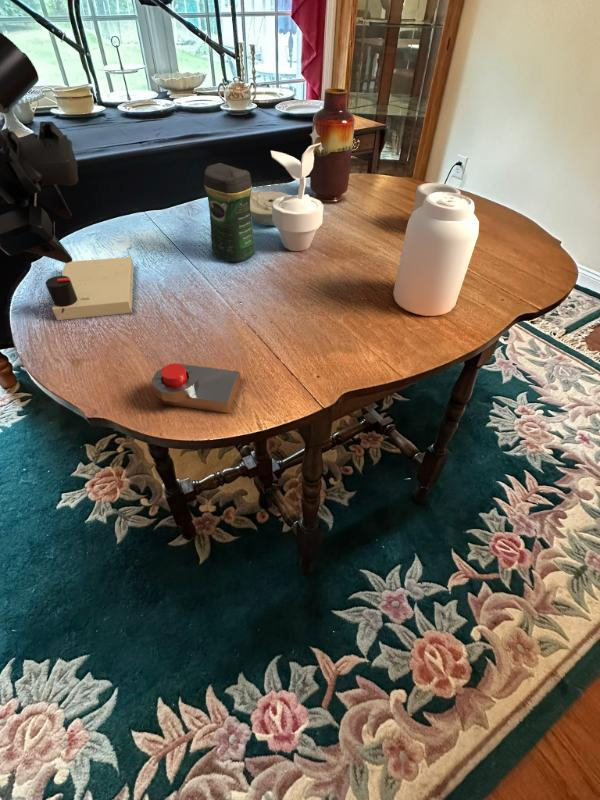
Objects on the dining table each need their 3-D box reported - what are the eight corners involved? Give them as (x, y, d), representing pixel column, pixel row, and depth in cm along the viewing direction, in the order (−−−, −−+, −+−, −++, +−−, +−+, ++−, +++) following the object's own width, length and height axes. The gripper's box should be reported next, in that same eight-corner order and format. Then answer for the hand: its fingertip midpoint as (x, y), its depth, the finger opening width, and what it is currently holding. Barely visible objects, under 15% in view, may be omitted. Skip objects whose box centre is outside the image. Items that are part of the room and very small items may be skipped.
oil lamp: (213, 215, 115) (211, 195, 112) (248, 200, 124) (247, 181, 120) (275, 237, 107) (275, 216, 103) (308, 219, 115) (309, 199, 112)
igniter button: (159, 386, 62) (157, 377, 61) (168, 371, 64) (166, 361, 63) (182, 389, 62) (180, 380, 60) (190, 373, 64) (188, 364, 63)
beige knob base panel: (42, 327, 77) (37, 315, 75) (58, 273, 91) (54, 261, 89) (131, 318, 80) (127, 306, 78) (133, 267, 94) (131, 256, 92)
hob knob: (52, 307, 77) (42, 286, 74) (55, 296, 80) (46, 275, 77) (76, 305, 78) (67, 284, 75) (78, 294, 81) (70, 273, 78)
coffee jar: (260, 254, 100) (258, 167, 87) (236, 267, 95) (230, 176, 82) (230, 242, 104) (223, 157, 91) (206, 253, 99) (195, 165, 86)
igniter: (151, 409, 64) (145, 389, 61) (172, 373, 69) (167, 353, 67) (226, 419, 63) (223, 400, 60) (240, 382, 68) (238, 362, 66)
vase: (305, 202, 124) (310, 92, 106) (313, 189, 132) (318, 84, 113) (343, 206, 122) (354, 96, 104) (349, 193, 130) (360, 88, 112)
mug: (442, 242, 108) (453, 200, 101) (402, 231, 112) (410, 190, 105) (458, 224, 116) (470, 184, 109) (420, 214, 120) (429, 176, 113)
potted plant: (329, 244, 105) (339, 125, 87) (303, 262, 98) (308, 136, 80) (287, 230, 110) (288, 115, 92) (259, 246, 103) (254, 125, 85)
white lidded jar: (446, 324, 82) (481, 218, 68) (384, 306, 86) (404, 202, 72) (460, 294, 90) (493, 194, 76) (402, 279, 94) (424, 181, 80)
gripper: (38, 169, 45) (123, 267, 59) (41, 71, 53) (115, 178, 67) (-56, 204, 46) (49, 293, 60) (-39, 103, 54) (50, 202, 68)
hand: (69, 238), depth 64 cm, fingers open, 9 cm apart
